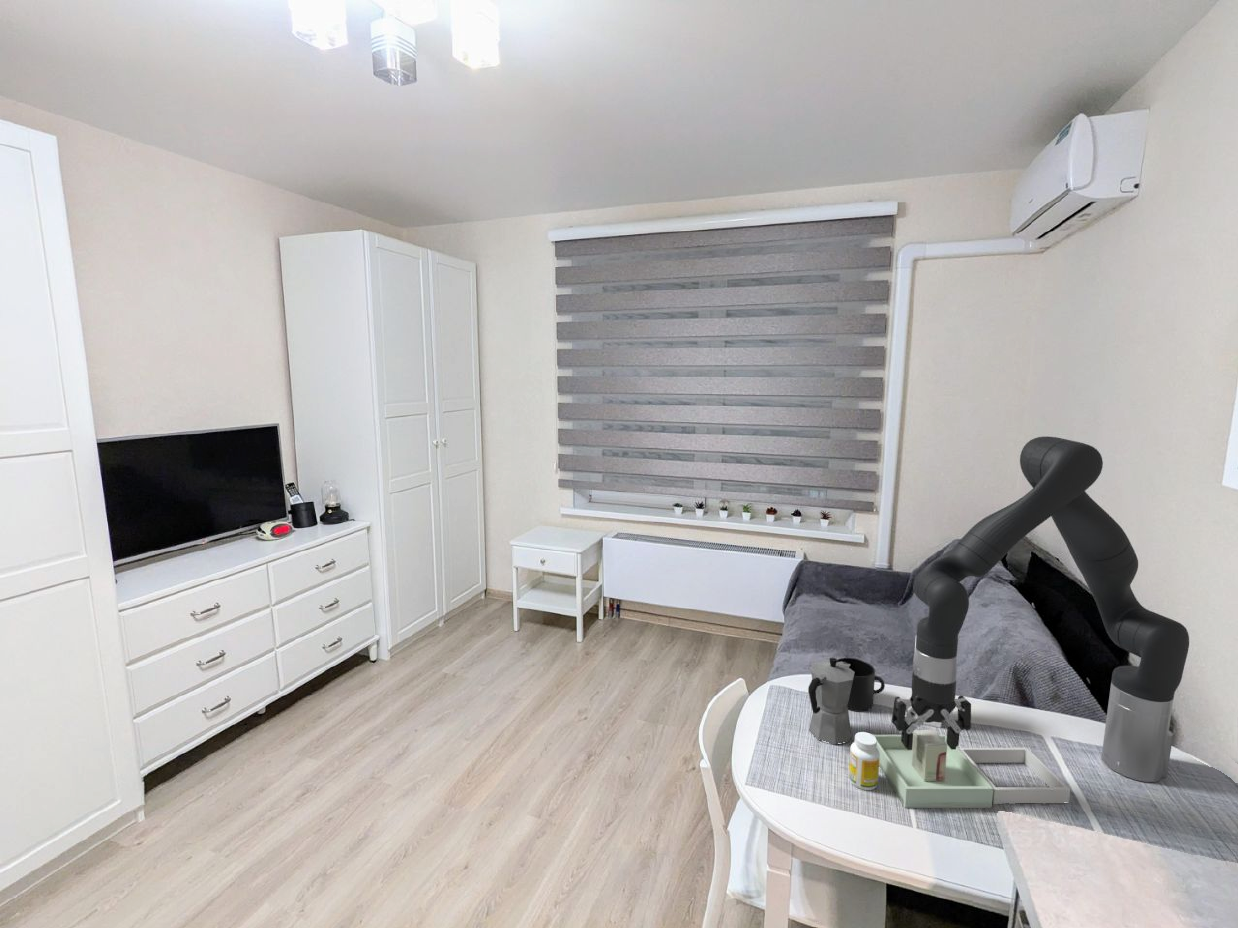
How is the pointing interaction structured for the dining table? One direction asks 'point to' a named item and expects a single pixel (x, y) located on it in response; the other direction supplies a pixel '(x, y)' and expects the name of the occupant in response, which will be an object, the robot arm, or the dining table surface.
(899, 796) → the bin
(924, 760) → the small box
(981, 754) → the frame
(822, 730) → the coffeepot
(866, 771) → the supplement bottle
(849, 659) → the mug
